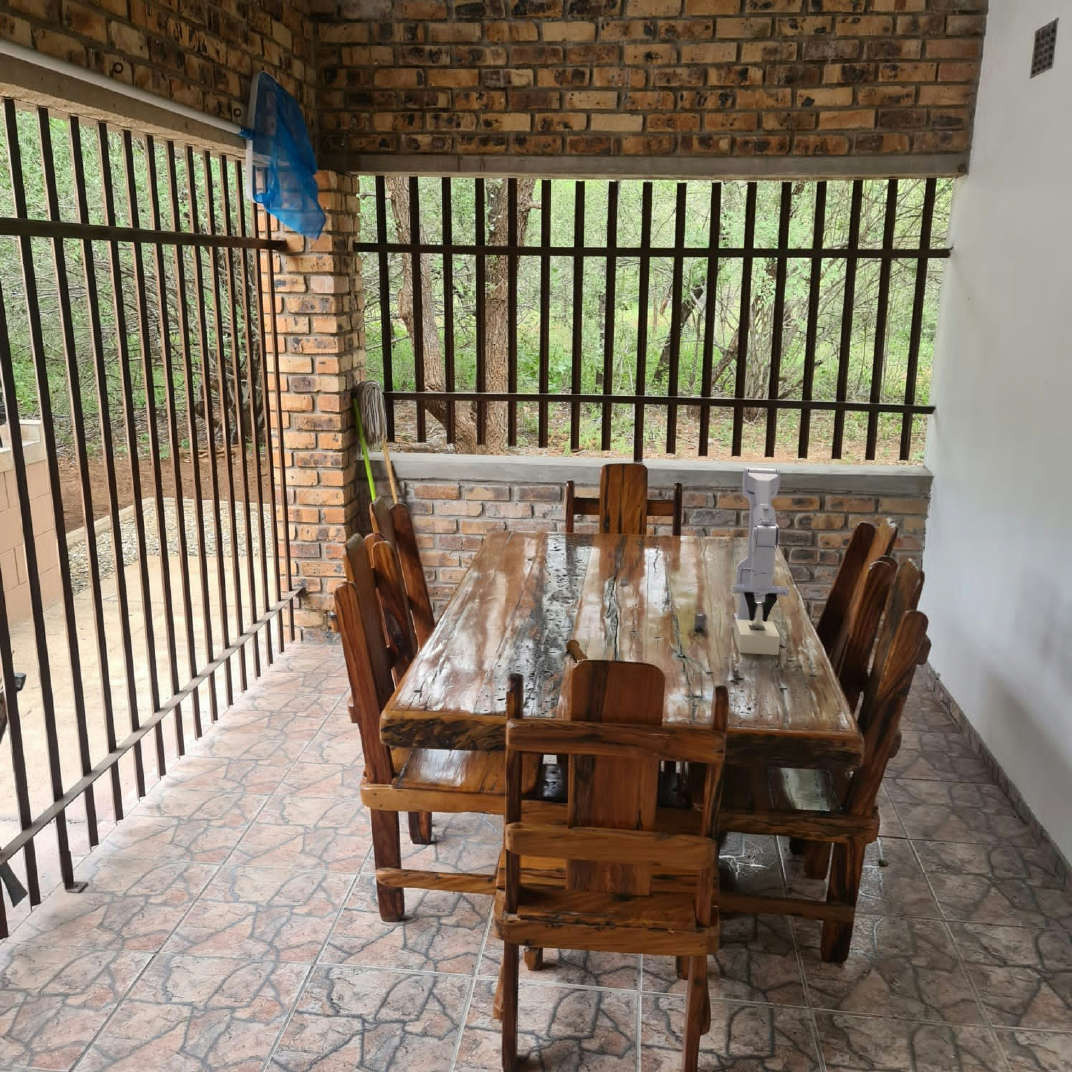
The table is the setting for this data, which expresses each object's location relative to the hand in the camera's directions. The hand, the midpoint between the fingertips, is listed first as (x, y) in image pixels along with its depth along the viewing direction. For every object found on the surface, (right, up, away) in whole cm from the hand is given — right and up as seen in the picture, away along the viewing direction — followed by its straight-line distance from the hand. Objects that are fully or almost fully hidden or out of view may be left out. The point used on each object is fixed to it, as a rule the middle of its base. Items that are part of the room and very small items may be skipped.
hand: (757, 620), depth 253 cm
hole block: (0, -7, +2) cm, 7 cm away
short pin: (-13, -4, +13) cm, 19 cm away
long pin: (0, -3, +1) cm, 3 cm away
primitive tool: (-47, -10, -14) cm, 50 cm away
